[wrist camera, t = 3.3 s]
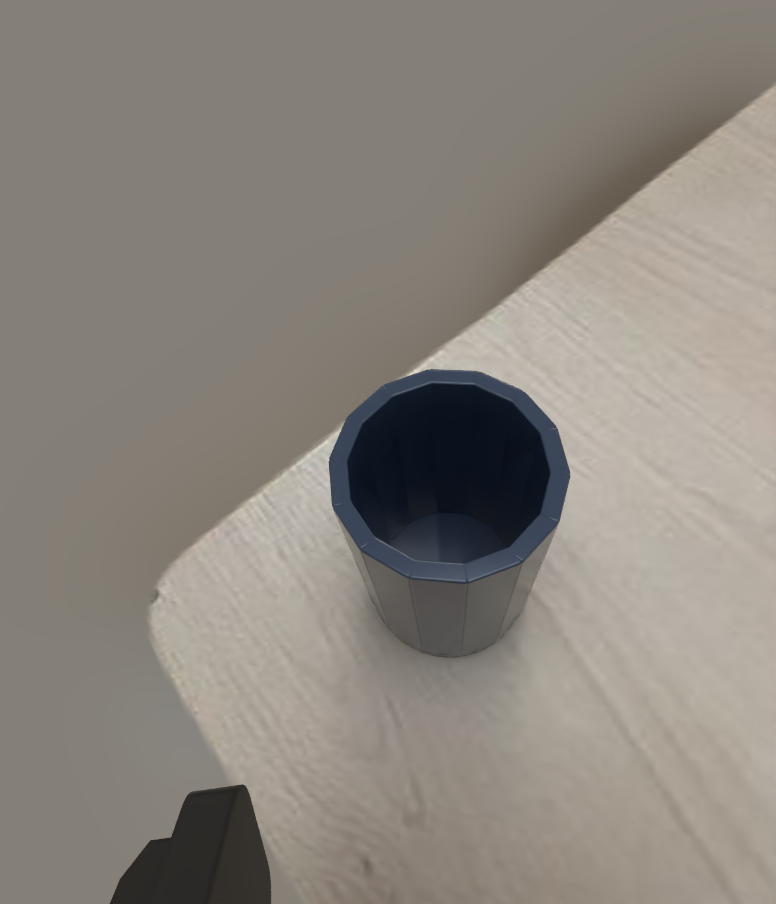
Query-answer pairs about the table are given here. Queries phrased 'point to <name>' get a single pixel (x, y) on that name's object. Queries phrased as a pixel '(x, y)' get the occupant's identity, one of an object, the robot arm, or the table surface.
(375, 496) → the cup
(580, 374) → the table surface
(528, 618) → the table surface
